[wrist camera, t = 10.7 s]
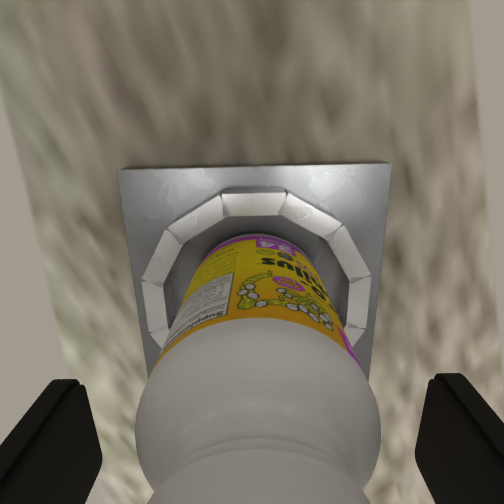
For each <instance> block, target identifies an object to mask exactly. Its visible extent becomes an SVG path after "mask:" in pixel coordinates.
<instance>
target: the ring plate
mask: <svg viewBox="0 0 504 504" xmlns="http://www.w3.org/2000/svg"><path fill="white" fill-rule="evenodd" d="M391 170H392V163H388V162H358V163H318V164H278V165H238V166H198V167H158V168H123V169H120V170H116V172H117V178H118V185H119V191H120V198H121V204H122V211H123V217H124V224H125V230H126V237H127V243H128V250H129V256H130V263H131V269H132V276H133V282H134V289H135V295H136V302H137V308H138V315H139V321H140V328H141V334H142V341H143V347H144V353H145V360H146V366H147V373H148V379H149V376H150V374H151V372H152V370H153V368H154V365H155V363H156V361H157V359H158V356H159V354H160V352H161V350H162V347H163V345H164V343H165V341H166V338H167V336H168V334H169V332H170V329H171V327H172V325H173V322H174V320H175V318H176V315H177V313H178V311H179V308H180V306H181V304H182V302H183V299H184V297H185V295H186V292H187V290H188V288H189V285H190V283H191V281H192V279H193V276H194V274H195V272H196V270H197V268H198V267H199V265H200V263H201V262H202V261H203V259H204V258H205V257H206V256H207V255H208V253H210V252H211V251H212V250H213V249H214V248H215V247H216V246H218V245H219V244H221V243H222V242H224V241H226V240H228V239H231V238H233V237H236V236H240V235H245V234H256V233H258V234H268V235H273V236H277V237H280V238H282V239H285V240H287V241H289V242H290V243H292V244H294V245H295V246H297V247H298V248H299V249H300V250H302V251H303V252H304V253H305V254H306V255H307V257H308V258H309V259H310V260H311V262H312V263H313V265H314V267H315V269H316V271H317V272H318V274H319V276H320V279H321V281H322V283H323V285H324V287H325V289H326V292H327V294H328V296H329V298H330V300H331V303H332V305H333V307H334V309H335V311H336V313H337V315H338V317H339V320H340V322H341V324H342V326H343V328H344V331H345V333H346V335H347V337H348V340H349V342H350V344H351V346H352V348H353V351H354V353H355V355H356V357H357V359H358V361H359V364H360V366H361V368H362V370H363V372H364V374H365V376H366V378H367V380H368V381H369V372H370V363H371V354H372V344H373V335H374V326H375V317H376V308H377V298H378V289H379V280H380V271H381V262H382V253H383V243H384V234H385V225H386V216H387V207H388V197H389V188H390V179H391Z"/></svg>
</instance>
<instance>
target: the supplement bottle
mask: <svg viewBox="0 0 504 504" xmlns="http://www.w3.org/2000/svg"><path fill="white" fill-rule="evenodd" d="M135 439H136V448H137V454H138V458H139V462H140V465H141V468H142V470H143V473H144V475H145V477H146V479H147V481H148V483H149V484H150V486H151V488H152V489H153V491H154V493H153V495H152V497H151V498H150V500H149V502H148V503H147V504H370V502H369V500H368V498H367V496H366V495H365V493H364V492H363V490H364V488H365V487H366V485H367V483H368V482H369V480H370V478H371V476H372V473H373V471H374V468H375V466H376V463H377V459H378V455H379V451H380V445H381V423H380V416H379V410H378V406H377V403H376V399H375V396H374V394H373V392H372V389H371V387H370V385H369V383H368V380H367V378H366V376H365V374H364V372H363V370H362V368H361V366H360V364H359V361H358V359H357V357H356V355H355V353H354V351H353V348H352V346H351V344H350V342H349V340H348V337H347V335H346V333H345V331H344V328H343V326H342V324H341V322H340V320H339V317H338V315H337V313H336V311H335V309H334V307H333V305H332V303H331V300H330V298H329V296H328V294H327V292H326V289H325V287H324V285H323V283H322V281H321V279H320V276H319V274H318V272H317V271H316V269H315V267H314V265H313V263H312V262H311V260H310V259H309V258H308V257H307V255H306V254H305V253H304V252H303V251H302V250H300V249H299V248H298V247H297V246H295V245H294V244H292V243H290V242H289V241H287V240H285V239H282V238H280V237H277V236H273V235H268V234H258V233H256V234H245V235H240V236H236V237H233V238H231V239H228V240H226V241H224V242H222V243H221V244H219V245H218V246H216V247H215V248H214V249H213V250H212V251H211V252H210V253H208V255H207V256H206V257H205V258H204V259H203V261H202V262H201V263H200V265H199V267H198V268H197V270H196V272H195V274H194V276H193V279H192V281H191V283H190V285H189V288H188V290H187V292H186V295H185V297H184V299H183V302H182V304H181V306H180V308H179V311H178V313H177V315H176V318H175V320H174V322H173V325H172V327H171V329H170V332H169V334H168V336H167V338H166V341H165V343H164V345H163V347H162V350H161V352H160V354H159V356H158V359H157V361H156V363H155V365H154V368H153V370H152V372H151V374H150V376H149V379H148V382H147V384H146V386H145V389H144V391H143V393H142V396H141V399H140V402H139V406H138V410H137V415H136V425H135Z"/></svg>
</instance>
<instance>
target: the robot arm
mask: <svg viewBox="0 0 504 504" xmlns="http://www.w3.org/2000/svg"><path fill="white" fill-rule="evenodd" d="M415 459H416V463H417V466H418V468H419V470H420V472H421V474H422V476H423V478H424V481H425V483H426V485H427V487H428V489H429V491H430V493H431V495H432V497H433V499H434V501H435V503H436V504H504V423H503V422H502V420H501V419H500V418H499V417H498V416H497V414H496V413H495V412H494V411H493V410H492V408H491V407H490V406H489V405H488V404H487V402H486V401H485V400H484V399H483V398H482V397H481V395H480V394H479V393H478V392H477V391H476V389H475V388H474V387H473V386H472V385H471V383H470V382H469V381H468V380H467V379H466V377H465V376H464V375H462V374H460V373H439V374H436V375H435V377H434V379H431V380H430V381H429V383H428V388H427V393H426V397H425V402H424V407H423V412H422V417H421V422H420V427H419V432H418V437H417V442H416V447H415ZM101 465H102V451H101V447H100V444H99V440H98V436H97V432H96V428H95V424H94V420H93V416H92V412H91V408H90V404H89V400H88V396H87V392H86V388H85V386H84V385H80V383H79V381H78V380H77V379H56V380H53V381H51V382H50V384H49V385H48V386H47V387H46V388H45V390H44V391H43V392H42V393H41V395H40V396H39V397H38V399H37V400H36V401H35V402H34V403H33V405H32V406H31V407H30V409H29V410H28V411H27V412H26V414H25V415H24V416H23V417H22V419H21V420H20V421H19V422H18V424H17V425H16V426H15V428H14V429H13V430H12V431H11V432H10V434H9V435H8V436H7V437H6V439H5V440H4V441H3V443H2V444H1V445H0V504H85V502H86V500H87V498H88V496H89V493H90V491H91V489H92V487H93V484H94V482H95V480H96V478H97V475H98V473H99V471H100V468H101Z"/></svg>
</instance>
